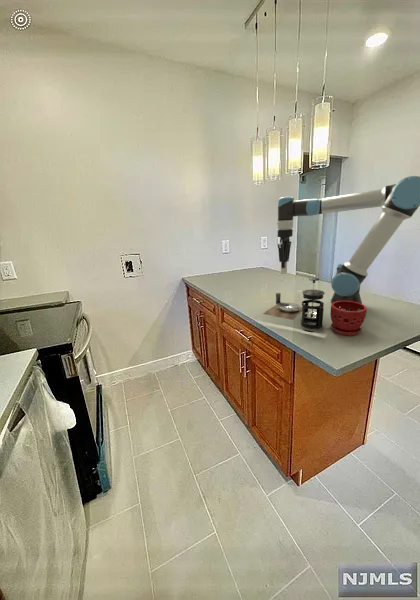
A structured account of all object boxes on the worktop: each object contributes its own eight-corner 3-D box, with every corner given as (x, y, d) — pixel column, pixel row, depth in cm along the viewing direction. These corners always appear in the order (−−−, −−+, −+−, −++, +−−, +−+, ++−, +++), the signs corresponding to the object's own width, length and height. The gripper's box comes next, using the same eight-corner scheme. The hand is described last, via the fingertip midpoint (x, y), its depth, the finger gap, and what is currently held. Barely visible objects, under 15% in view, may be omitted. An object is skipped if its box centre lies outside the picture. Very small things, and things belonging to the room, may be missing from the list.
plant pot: (323, 331, 108) (325, 305, 105) (338, 322, 116) (340, 298, 112) (354, 341, 98) (358, 313, 95) (368, 330, 106) (372, 304, 102)
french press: (295, 324, 117) (297, 277, 110) (313, 321, 118) (316, 274, 111) (310, 335, 106) (313, 283, 99) (329, 331, 107) (334, 280, 100)
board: (306, 310, 133) (306, 307, 133) (292, 322, 119) (293, 319, 119) (278, 305, 143) (278, 303, 142) (262, 316, 129) (262, 313, 129)
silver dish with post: (302, 308, 132) (303, 293, 130) (295, 314, 125) (295, 298, 122) (279, 304, 140) (280, 290, 137) (271, 309, 133) (272, 295, 130)
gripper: (283, 228, 136) (282, 270, 143) (272, 230, 126) (272, 275, 133) (296, 228, 131) (295, 271, 138) (287, 229, 121) (285, 276, 129)
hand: (283, 273), depth 136 cm, fingers closed
